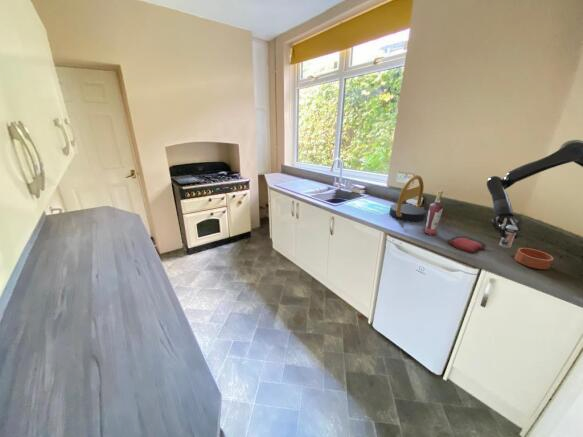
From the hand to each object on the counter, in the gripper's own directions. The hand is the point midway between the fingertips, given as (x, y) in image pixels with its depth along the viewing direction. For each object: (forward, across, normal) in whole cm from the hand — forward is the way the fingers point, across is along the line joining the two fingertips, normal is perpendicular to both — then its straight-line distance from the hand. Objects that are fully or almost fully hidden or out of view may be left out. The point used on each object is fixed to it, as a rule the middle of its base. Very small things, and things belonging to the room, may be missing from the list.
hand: (510, 237), depth 124 cm
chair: (-28, -37, +42) cm, 63 cm away
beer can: (+3, 0, +5) cm, 6 cm away
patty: (+3, -17, +10) cm, 20 cm away
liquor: (-7, -31, +20) cm, 38 cm away
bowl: (+13, +6, 0) cm, 15 cm away
